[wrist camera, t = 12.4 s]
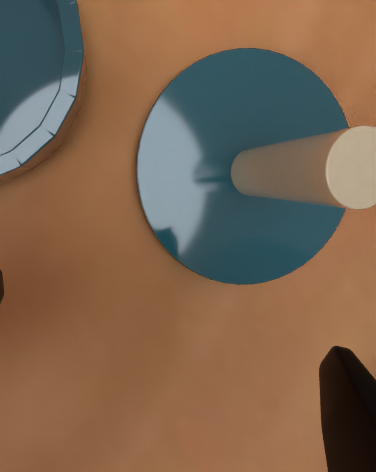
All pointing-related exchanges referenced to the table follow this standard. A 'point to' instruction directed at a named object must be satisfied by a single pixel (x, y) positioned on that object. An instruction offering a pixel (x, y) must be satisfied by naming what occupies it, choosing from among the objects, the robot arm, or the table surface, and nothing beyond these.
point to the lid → (250, 166)
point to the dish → (38, 79)
